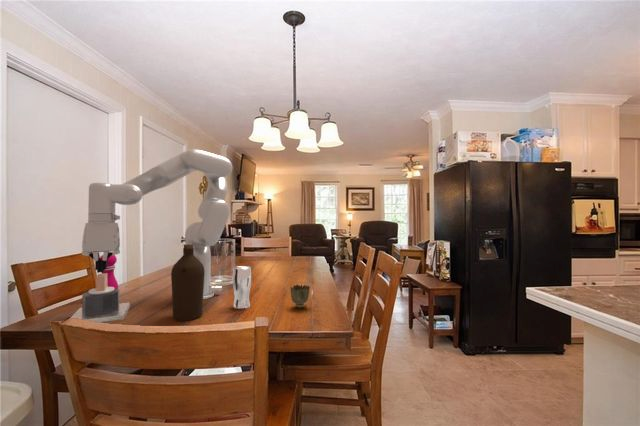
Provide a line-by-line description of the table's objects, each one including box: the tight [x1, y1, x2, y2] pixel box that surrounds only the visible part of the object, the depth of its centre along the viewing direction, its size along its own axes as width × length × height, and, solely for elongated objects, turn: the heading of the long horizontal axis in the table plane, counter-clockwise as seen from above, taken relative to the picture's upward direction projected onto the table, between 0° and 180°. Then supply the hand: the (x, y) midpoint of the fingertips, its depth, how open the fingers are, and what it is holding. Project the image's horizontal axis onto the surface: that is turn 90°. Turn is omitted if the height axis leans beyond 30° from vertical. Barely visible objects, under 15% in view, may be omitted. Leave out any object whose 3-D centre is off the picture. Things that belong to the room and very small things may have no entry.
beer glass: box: [232, 265, 252, 310], centre depth 114 cm, size 7×7×15 cm
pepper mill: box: [100, 251, 119, 290], centre depth 123 cm, size 7×7×20 cm
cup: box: [289, 284, 311, 309], centre depth 114 cm, size 8×7×8 cm
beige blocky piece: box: [88, 273, 114, 295], centre depth 103 cm, size 7×7×8 cm
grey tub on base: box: [70, 288, 131, 323], centre depth 103 cm, size 15×15×8 cm
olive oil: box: [170, 243, 205, 322], centre depth 103 cm, size 11×11×25 cm
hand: (100, 271), depth 103 cm, fingers closed
